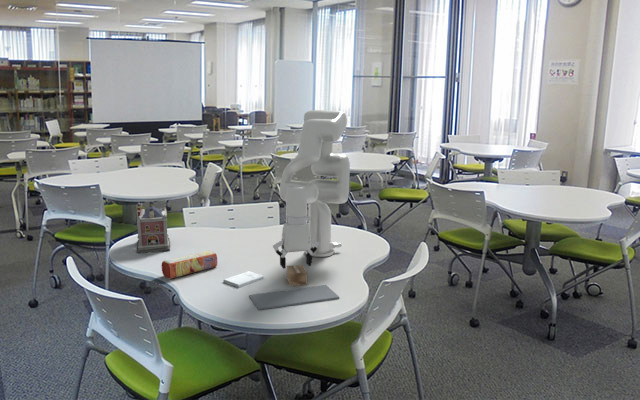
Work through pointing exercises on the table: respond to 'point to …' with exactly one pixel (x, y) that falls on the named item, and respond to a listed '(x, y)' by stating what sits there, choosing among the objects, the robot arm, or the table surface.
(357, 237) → the table surface
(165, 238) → the model building
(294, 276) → the card box
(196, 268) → the snack package
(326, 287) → the mat
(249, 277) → the external hard drive
